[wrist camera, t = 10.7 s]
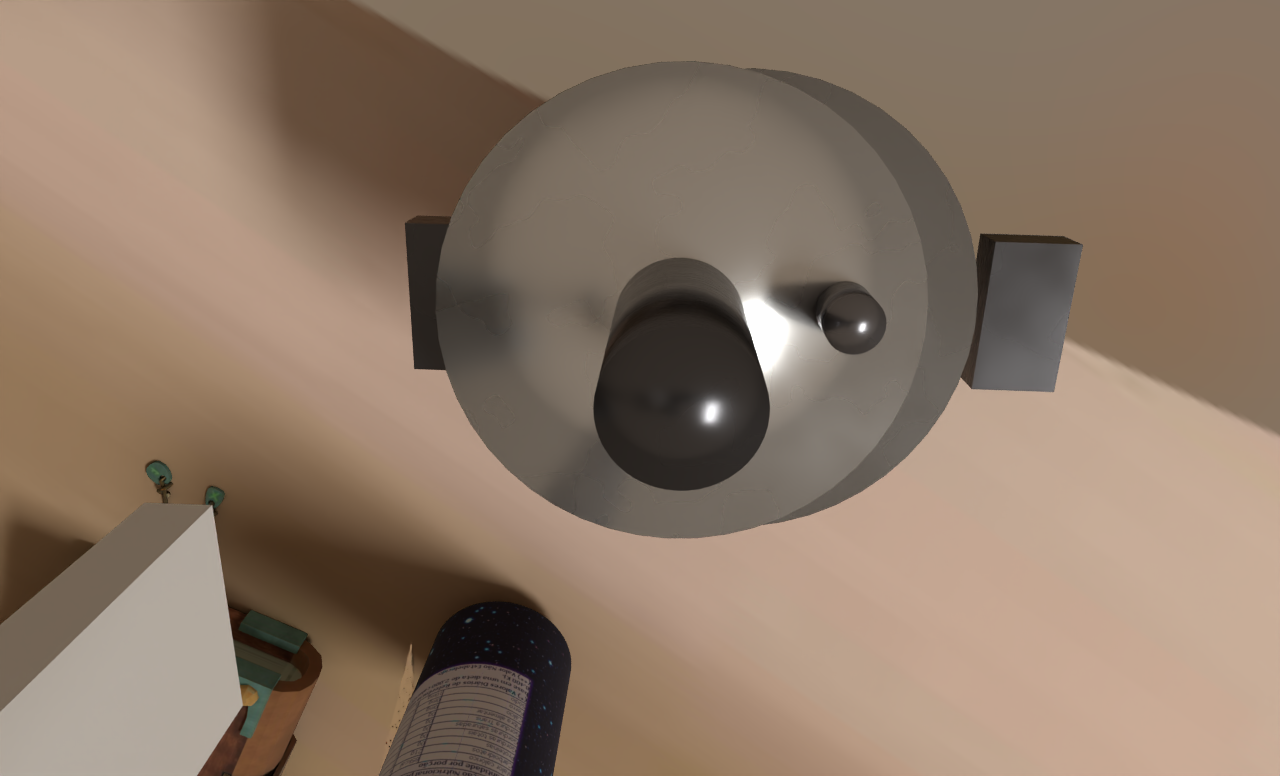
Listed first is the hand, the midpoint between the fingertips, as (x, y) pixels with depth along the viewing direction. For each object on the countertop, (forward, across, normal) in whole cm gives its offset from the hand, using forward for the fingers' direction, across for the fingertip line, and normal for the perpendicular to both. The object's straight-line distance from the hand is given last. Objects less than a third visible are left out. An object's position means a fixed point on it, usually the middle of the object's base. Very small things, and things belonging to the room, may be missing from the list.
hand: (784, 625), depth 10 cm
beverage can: (+23, -7, -17) cm, 29 cm away
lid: (+13, -1, 0) cm, 13 cm away
